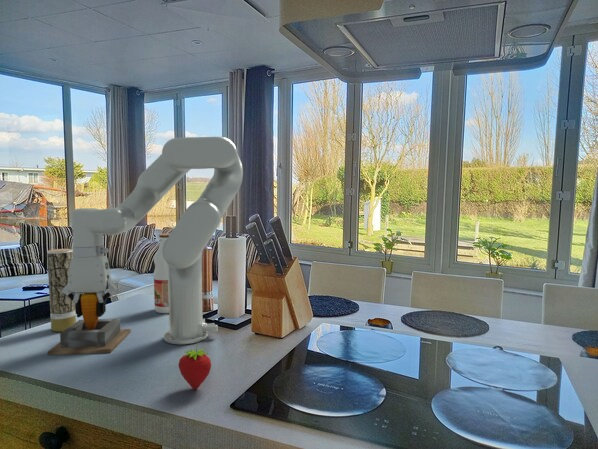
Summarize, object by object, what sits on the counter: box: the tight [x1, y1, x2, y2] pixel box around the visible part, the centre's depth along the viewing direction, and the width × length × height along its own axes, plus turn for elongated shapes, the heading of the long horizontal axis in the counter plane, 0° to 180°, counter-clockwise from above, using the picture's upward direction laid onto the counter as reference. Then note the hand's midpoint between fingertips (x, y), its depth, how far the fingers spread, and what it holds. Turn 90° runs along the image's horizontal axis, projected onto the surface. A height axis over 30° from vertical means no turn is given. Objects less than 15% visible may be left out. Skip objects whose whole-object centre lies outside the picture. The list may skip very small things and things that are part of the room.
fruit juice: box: [153, 232, 171, 314], centre depth 145 cm, size 9×9×28 cm
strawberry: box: [177, 342, 212, 390], centre depth 87 cm, size 6×8×10 cm
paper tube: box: [46, 248, 77, 333], centre depth 125 cm, size 7×7×25 cm
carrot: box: [81, 293, 100, 330], centre depth 113 cm, size 5×5×15 cm
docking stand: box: [47, 318, 131, 356], centre depth 114 cm, size 16×16×5 cm
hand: (90, 315), depth 113 cm, fingers closed on carrot, 4 cm apart
